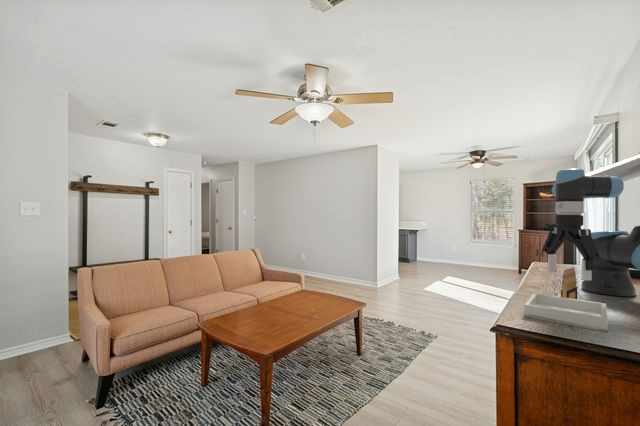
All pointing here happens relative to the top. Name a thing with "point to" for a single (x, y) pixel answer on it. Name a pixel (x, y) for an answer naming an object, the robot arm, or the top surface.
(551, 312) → the tray
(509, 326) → the top surface
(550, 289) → the top surface
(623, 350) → the top surface
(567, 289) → the ammunition clip
